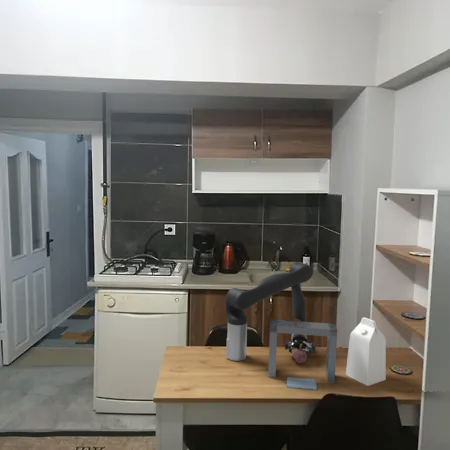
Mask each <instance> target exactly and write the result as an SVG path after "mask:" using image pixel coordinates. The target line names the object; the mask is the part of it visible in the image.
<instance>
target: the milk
mask: <svg viewBox="0 0 450 450" xmlns="http://www.w3.org/2000/svg"><path fill="white" fill-rule="evenodd" d="M348 340H349V341H348V349H347V361H346V369H345V375H346V376H347V377H349V378H352V379H353V380H354V381H355V380H356V381H357V382H360V383H361V384H363V385H365V386H367V387H368V386H372V385H374V384H378V383H380V382H383V381H386V378H387V377H386V376H387V375H386V372H387V371H386V365H387V362H386V361H387V359H386V355H387V354H386V351H387V350H386V349H387V348H386V347H387V345H386V337H385V335H384V334H383V333H382V332H381V331H380V329H378V326H377V323H376V321H375V320H373V319H370V318H368V317H362V318H361V320H360V322H359V323H358V325H357V326H355V328H354V329H353V330H352V331H351V332H350V335H349V339H348Z"/></svg>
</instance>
